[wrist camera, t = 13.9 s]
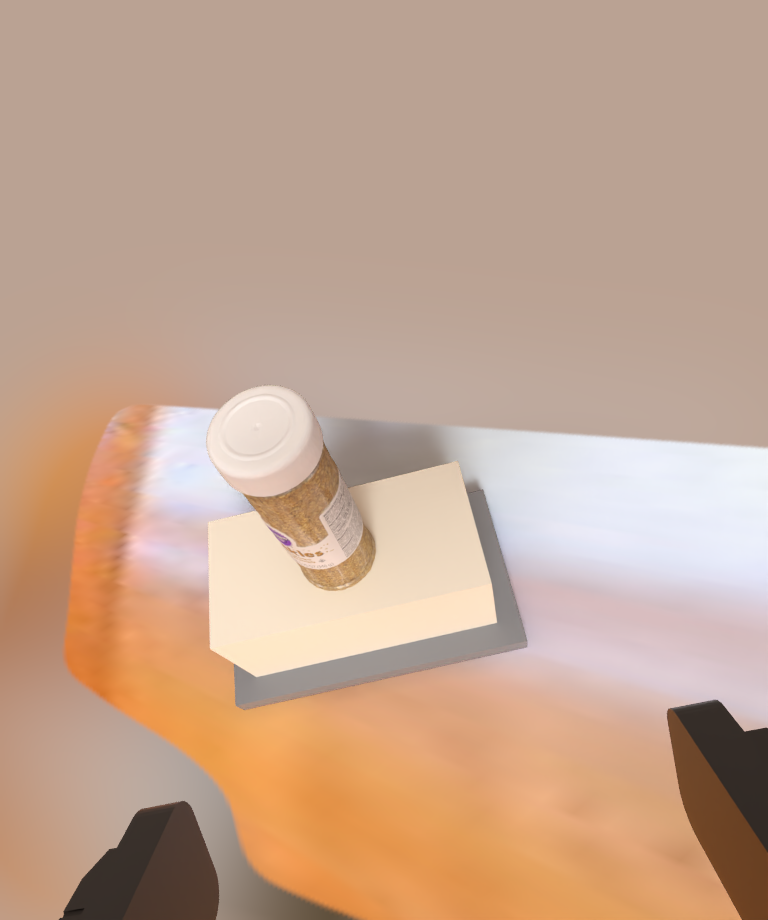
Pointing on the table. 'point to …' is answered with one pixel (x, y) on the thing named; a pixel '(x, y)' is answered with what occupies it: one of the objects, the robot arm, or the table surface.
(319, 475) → the sprinkles bottle
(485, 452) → the table surface
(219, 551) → the cream and grey block
